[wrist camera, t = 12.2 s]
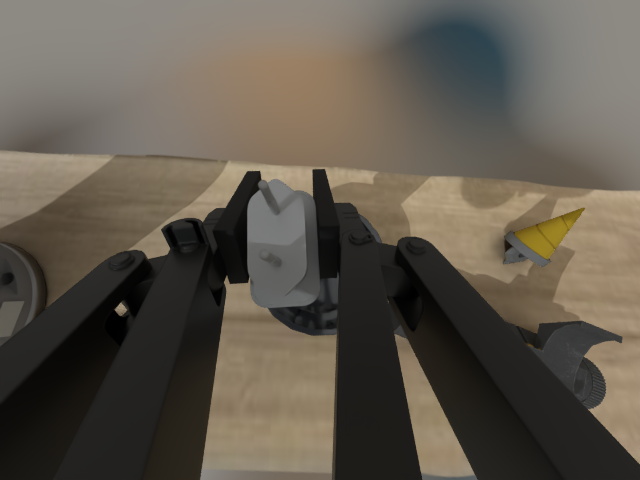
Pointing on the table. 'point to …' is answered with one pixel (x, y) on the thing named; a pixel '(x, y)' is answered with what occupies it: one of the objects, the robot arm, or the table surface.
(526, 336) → the laser sight
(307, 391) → the table surface
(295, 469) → the table surface
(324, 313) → the bowl
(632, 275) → the table surface
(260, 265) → the grey skyscraper model
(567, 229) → the drill bit
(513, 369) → the robot arm
